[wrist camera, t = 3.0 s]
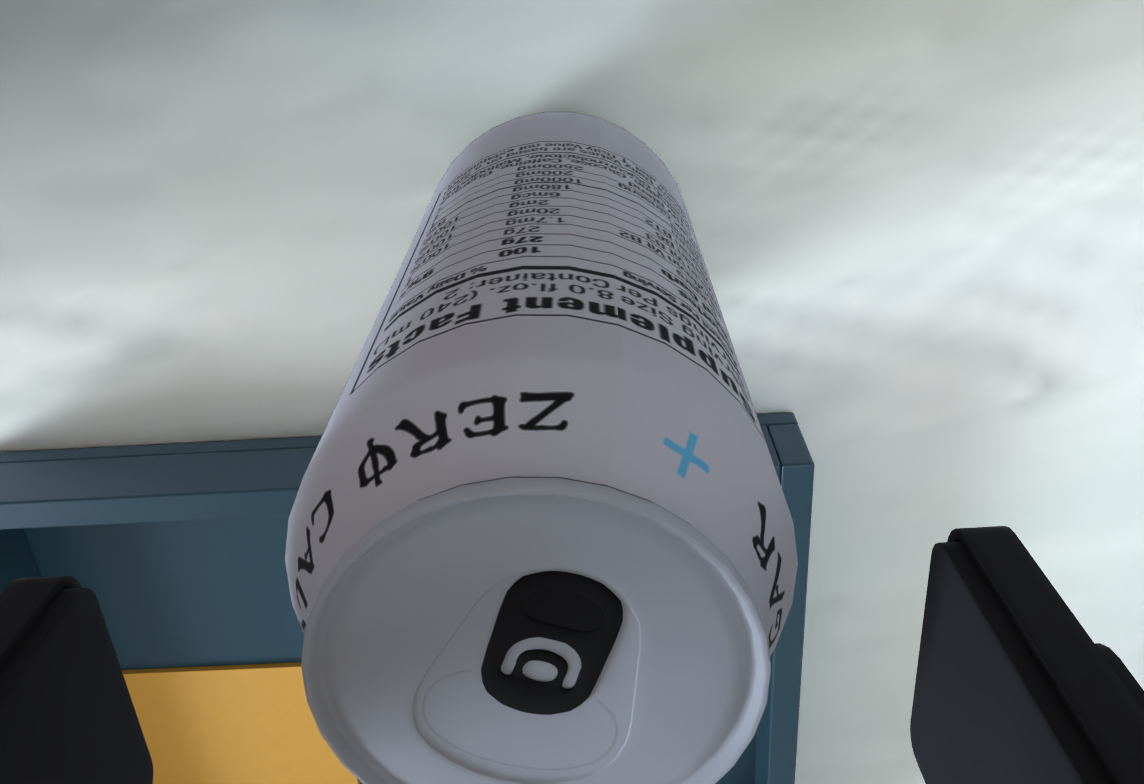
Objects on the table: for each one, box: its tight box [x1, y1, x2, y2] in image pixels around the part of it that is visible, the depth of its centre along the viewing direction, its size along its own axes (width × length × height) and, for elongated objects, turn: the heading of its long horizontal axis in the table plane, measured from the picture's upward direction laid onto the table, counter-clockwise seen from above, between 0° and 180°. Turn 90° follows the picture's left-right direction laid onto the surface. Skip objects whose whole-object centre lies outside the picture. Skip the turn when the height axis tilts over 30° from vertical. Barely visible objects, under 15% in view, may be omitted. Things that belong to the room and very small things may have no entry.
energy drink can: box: [285, 112, 798, 784], centre depth 17 cm, size 6×6×15 cm
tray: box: [0, 413, 814, 784], centre depth 28 cm, size 22×16×3 cm
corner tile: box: [122, 662, 360, 784], centre depth 30 cm, size 7×7×1 cm
